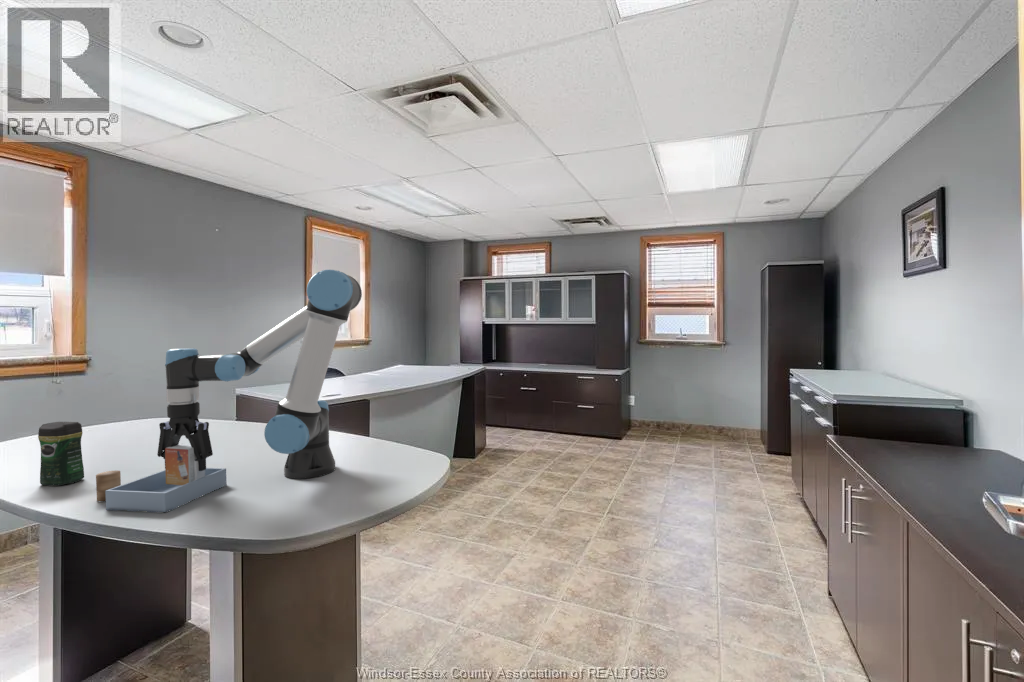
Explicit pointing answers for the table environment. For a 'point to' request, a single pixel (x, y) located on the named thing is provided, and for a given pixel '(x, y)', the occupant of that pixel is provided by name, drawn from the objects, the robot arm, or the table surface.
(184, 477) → the small box
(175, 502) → the tray
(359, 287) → the robot arm
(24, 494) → the table surface
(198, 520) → the table surface
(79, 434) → the coffee jar
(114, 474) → the tan wooden block
